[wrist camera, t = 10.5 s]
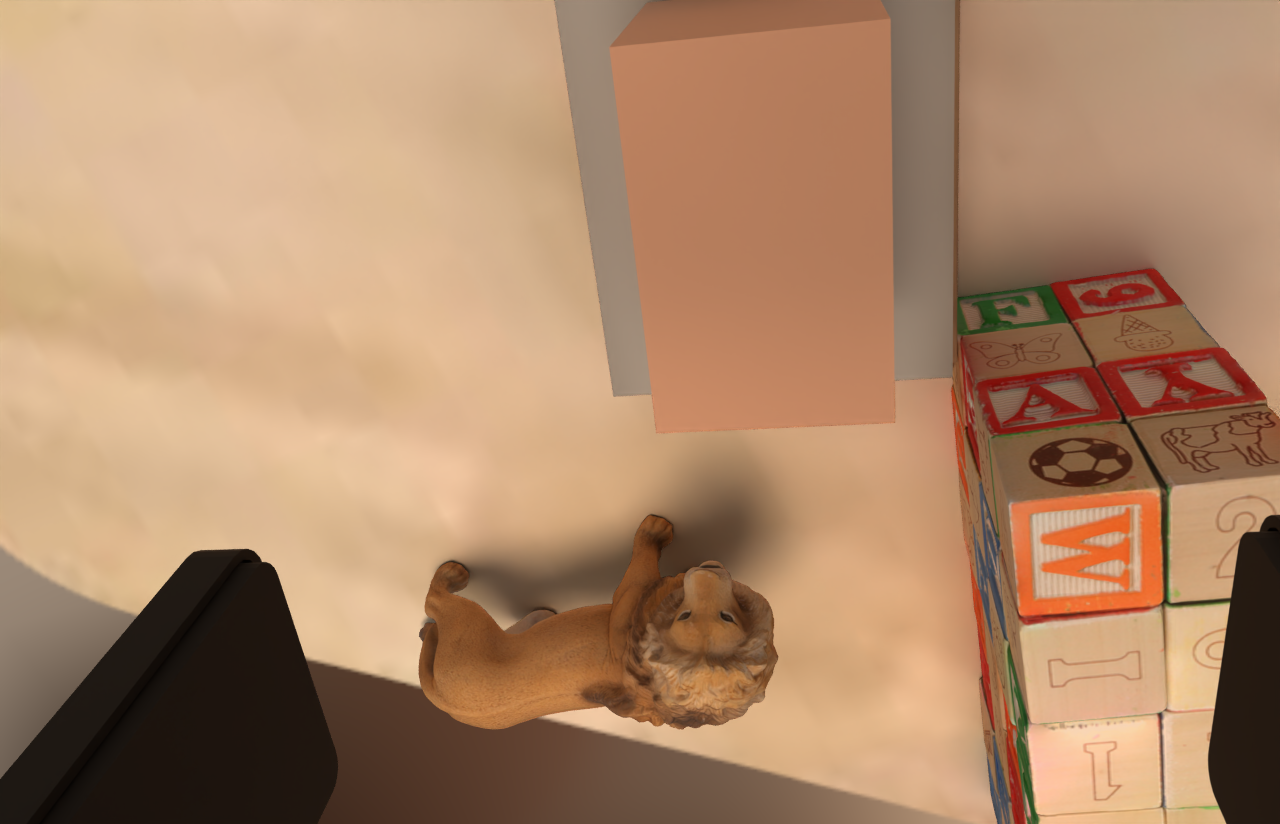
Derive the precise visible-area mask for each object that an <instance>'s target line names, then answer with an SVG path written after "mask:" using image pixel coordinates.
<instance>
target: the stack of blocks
mask: <svg viewBox="0 0 1280 824" xmlns="http://www.w3.org/2000/svg"><path fill="white" fill-rule="evenodd" d="M951 392H952V403H953V414H954V426H955V436H956V447H957V459H958V466H959V487H960V498H961V509H962V520H963V531H964V540H965V544H966V547H967V551H968V555H969V559H970V567H971V578H972V588H973V600H974V610H975V614H976V619H977V625H978V637H979V647H980V658H981V669H982V675H983V677H982V678H981V679H980V681H979V687H980V699H981V710H982V721H983V731H984V741H985V745H986V750H987V761H988V771H989V780H990V791H991V797H992V802H993V806H994V811H995V815H996V819H997V824H1226V822H1225V820H1224V817H1223V815H1222V813H1221V810H1220V808H1219V806H1218V804H1217V801H1216V799H1215V796H1214V794H1213V791H1212V787H1211V783H1210V778H1209V771H1208V750H1209V743H1210V736H1211V730H1212V723H1213V716H1214V709H1215V702H1216V696H1217V689H1218V682H1219V675H1220V668H1221V662H1222V655H1223V648H1224V641H1225V634H1226V627H1227V621H1228V614H1229V607H1230V600H1231V593H1232V587H1233V580H1234V573H1235V566H1236V559H1237V553H1238V546H1239V542H1240V539H1241V537H1242V535H1243V534H1244V533H1246V532H1259V531H1260V528H1261V525H1262V523H1263V521H1264V519H1265V518H1266V517H1268V516H1270V515H1280V418H1279V417H1278V416H1277V415H1276V414H1275V413H1274V412H1273V410H1271V409H1270V408H1268V405H1267V398H1266V397H1265V395H1264V394H1263V392H1262V391H1261V390H1260V389H1259V388H1258V387H1257V385H1256V384H1255V382H1254V381H1253V380H1252V379H1251V378H1250V377H1249V376H1248V375H1247V373H1246V372H1245V371H1244V370H1243V369H1242V368H1241V367H1240V365H1239V364H1238V363H1237V361H1236V360H1235V359H1233V358H1232V357H1231V355H1230V354H1229V353H1228V352H1227V351H1226V350H1225V349H1224V348H1220V347H1219V345H1218V343H1217V342H1216V341H1215V340H1214V339H1213V338H1212V337H1211V336H1210V335H1209V334H1208V333H1207V332H1206V331H1205V329H1204V328H1203V327H1202V326H1201V325H1200V323H1199V322H1198V321H1197V320H1196V318H1195V317H1194V316H1193V315H1192V314H1191V312H1190V311H1189V310H1188V309H1187V308H1186V305H1185V303H1184V302H1183V301H1182V299H1181V298H1180V297H1179V296H1178V295H1177V294H1176V292H1175V291H1174V290H1173V289H1172V288H1171V287H1170V286H1169V285H1168V284H1167V282H1166V281H1165V280H1164V278H1163V277H1162V276H1161V275H1160V273H1159V272H1158V271H1157V270H1155V269H1145V270H1138V271H1131V272H1124V273H1117V274H1110V275H1103V276H1096V277H1090V278H1083V279H1076V280H1070V281H1063V282H1055V283H1052V284H1050V285H1045V286H1039V287H1031V288H1024V289H1017V290H1010V291H1003V292H995V293H988V294H981V295H974V296H968V297H959V298H957V362H953V386H952V390H951Z"/></svg>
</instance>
